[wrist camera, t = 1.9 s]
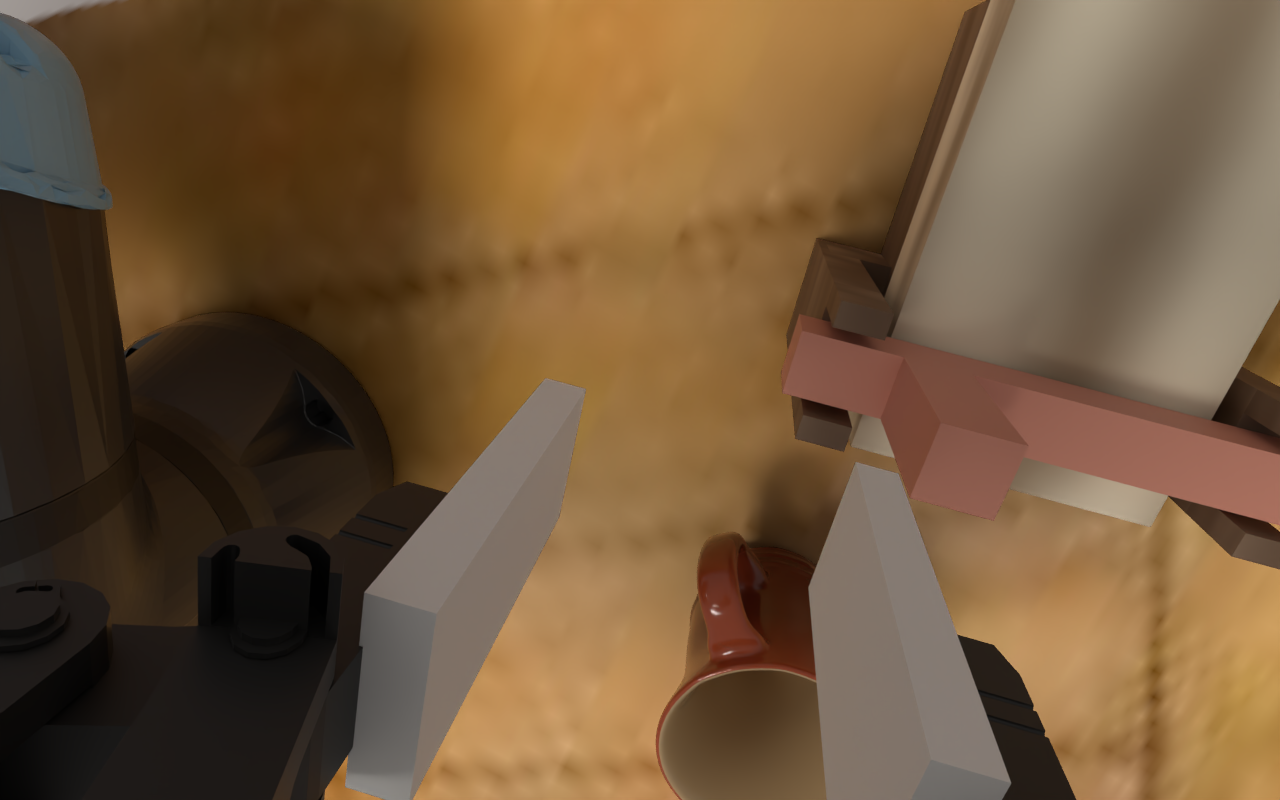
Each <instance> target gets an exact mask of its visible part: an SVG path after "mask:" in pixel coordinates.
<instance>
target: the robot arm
mask: <svg viewBox="0 0 1280 800" xmlns="http://www.w3.org/2000/svg"><path fill="white" fill-rule="evenodd" d="M112 207H113V203H112V195H111V192H110V191H109V190H108V188H107V187H105V186H104V185H103V184H102V181H101V176H100V171H99V166H98V161H97V156H96V151H95V146H94V141H93V136H92V131H91V126H90V121H89V116H88V111H87V106H86V101H85V96H84V91H83V88H82V85H81V82H80V79H79V77H78V75H77V73H76V71H75V69H74V67H73V65H72V64H71V63H70V61H69V60H68V58H67V57H66V56H65V54H64V53H63V52H62V51H61V50H60V49H59V48H58V47H57V46H56V45H55V44H54V43H53V42H52V41H51V40H50V39H48V38H47V37H46V36H44V35H43V34H42V33H40V32H39V31H38V30H36V29H35V28H33V27H31V26H30V25H28V24H26V23H25V22H23V21H21V20H19V19H16V18H14V17H11V16H9V15H5V14H2V13H0V800H324V795H325V789H326V787H327V786H328V784H329V783H330V781H331V780H332V778H333V777H334V775H335V774H336V772H337V771H338V769H339V768H340V766H341V765H342V763H343V761H344V760H345V758H346V757H347V755H348V764H347V774H346V784H345V787H347V788H350V789H353V790H356V791H360V792H363V793H366V794H369V795H372V796H376V797H379V798H382V799H385V800H412V799H413V798H414V796H415V794H416V792H417V790H418V788H419V786H420V784H421V782H422V780H423V778H424V776H425V774H426V773H427V771H428V769H429V767H430V765H431V763H432V761H433V759H434V757H435V755H436V753H437V751H438V749H439V747H440V746H441V744H442V742H443V740H444V738H445V736H446V734H447V732H448V730H449V728H450V726H451V724H452V722H453V721H454V719H455V717H456V715H457V713H458V711H459V709H460V707H461V705H462V703H463V701H464V699H465V697H466V696H467V694H468V692H469V690H470V688H471V686H472V684H473V682H474V680H475V678H476V676H477V674H478V672H479V671H480V669H481V667H482V665H483V663H484V661H485V659H486V657H487V655H488V653H489V651H490V649H491V647H492V645H493V644H494V642H495V640H496V638H497V636H498V634H499V632H500V630H501V628H502V626H503V624H504V622H505V620H506V619H507V617H508V615H509V613H510V611H511V609H512V607H513V605H514V603H515V601H516V599H517V597H518V595H519V594H520V592H521V590H522V588H523V586H524V584H525V582H526V580H527V578H528V576H529V574H530V572H531V570H532V569H533V567H534V565H535V563H536V561H537V559H538V557H539V555H540V553H541V551H542V549H543V547H544V545H545V543H546V542H547V540H548V538H549V536H550V534H551V532H552V530H553V528H554V526H555V524H556V522H557V520H558V518H559V516H560V511H561V506H562V501H563V497H564V492H565V487H566V482H567V477H568V473H569V468H570V463H571V458H572V454H573V449H574V444H575V439H576V435H577V430H578V425H579V420H580V416H581V411H582V406H583V401H584V397H585V392H586V389H584V388H580V387H577V386H573V385H569V384H566V383H562V382H558V381H554V380H551V379H547V378H545V379H544V381H543V382H542V383H541V384H540V385H539V387H538V388H537V389H536V390H535V391H534V392H533V394H532V395H531V396H530V397H529V398H528V400H527V401H526V402H525V403H524V404H523V405H522V407H521V408H520V409H519V410H518V411H517V413H516V414H515V415H514V416H513V417H512V418H511V420H510V421H509V422H508V423H507V424H506V426H505V427H504V428H503V429H502V430H501V431H500V433H499V434H498V435H497V436H496V437H495V439H494V440H493V441H492V442H491V443H490V444H489V446H488V447H487V448H486V449H485V450H484V452H483V453H482V454H481V455H480V456H479V457H478V459H477V460H476V461H475V462H474V463H473V465H472V466H471V467H470V468H469V469H468V470H467V472H466V473H465V474H464V475H463V476H462V478H461V479H460V480H459V481H458V482H457V483H456V485H455V486H454V487H453V488H452V489H451V491H450V492H449V493H446V492H442V491H439V490H435V489H432V488H428V487H425V486H421V485H418V484H414V483H411V482H404V483H402V484H400V485H397V486H395V487H393V464H392V457H391V451H390V446H389V442H388V439H387V436H386V433H385V430H384V427H383V425H382V422H381V420H380V418H379V416H378V413H377V411H376V409H375V408H374V406H373V404H372V402H371V400H370V399H369V397H368V396H367V394H366V393H365V391H364V390H363V388H362V387H361V386H360V384H359V383H358V382H357V380H356V379H355V378H354V377H353V376H352V374H351V373H350V372H349V371H348V370H347V369H346V368H345V367H344V366H343V365H342V364H341V363H340V362H339V361H338V360H337V359H336V358H335V357H334V356H333V355H331V354H330V353H329V352H328V351H327V350H325V349H324V348H323V347H321V346H320V345H319V344H317V343H316V342H315V341H313V340H311V339H310V338H308V337H307V336H305V335H303V334H302V333H300V332H298V331H296V330H294V329H292V328H290V327H288V326H286V325H283V324H281V323H278V322H276V321H273V320H270V319H267V318H263V317H259V316H255V315H250V314H244V313H234V312H218V313H208V314H203V315H198V316H195V317H191V318H188V319H185V320H183V321H180V322H177V323H174V324H171V325H169V326H166V327H163V328H160V329H158V330H155V331H153V332H151V333H149V334H147V335H146V336H144V337H142V338H141V339H139V340H137V341H136V342H134V343H133V344H132V345H130V346H129V347H128V348H127V349H126V350H125V351H124V348H123V341H122V334H121V328H120V321H119V314H118V307H117V300H116V294H115V287H114V280H113V273H112V266H111V258H110V251H109V243H108V235H107V227H106V219H105V211H104V210H108V209H111V208H112ZM808 589H809V600H810V612H811V623H812V635H813V647H814V658H815V670H816V681H817V693H818V705H819V716H820V728H821V739H822V751H823V763H824V774H825V786H826V798H827V800H1076V798H1075V796H1074V794H1073V791H1072V789H1071V787H1070V785H1069V782H1068V780H1067V778H1066V776H1065V774H1064V771H1063V769H1062V767H1061V765H1060V763H1059V760H1058V758H1057V756H1056V754H1055V751H1054V749H1053V747H1052V745H1051V743H1050V740H1049V738H1047V737H1045V729H1044V727H1043V725H1042V723H1041V720H1040V718H1039V716H1038V714H1037V712H1036V711H1033V706H1034V705H1033V703H1032V700H1031V698H1030V696H1029V694H1028V692H1027V689H1026V687H1025V685H1024V683H1023V680H1022V678H1021V676H1020V674H1019V673H1018V672H1017V671H1016V670H1015V669H1014V668H1013V667H1012V665H1011V664H1010V663H1009V662H1008V661H1007V660H1006V659H1005V657H1004V656H1003V655H1002V654H1001V653H1000V652H999V651H998V650H997V648H996V647H995V646H994V645H992V644H988V643H985V642H981V641H978V640H974V639H970V638H967V637H963V636H960V635H957V633H956V630H955V627H954V625H953V622H952V619H951V616H950V614H949V611H948V608H947V605H946V603H945V600H944V597H943V594H942V592H941V589H940V586H939V584H938V581H937V578H936V575H935V573H934V570H933V567H932V564H931V562H930V559H929V556H928V553H927V551H926V548H925V545H924V542H923V540H922V537H921V534H920V531H919V529H918V526H917V523H916V520H915V518H914V515H913V512H912V510H911V507H910V504H909V501H908V499H907V496H906V493H905V490H904V488H903V485H902V482H901V479H900V477H899V474H898V473H895V472H891V471H887V470H884V469H880V468H876V467H873V466H869V465H865V464H861V463H858V462H855V465H854V468H853V470H852V473H851V476H850V478H849V481H848V484H847V486H846V489H845V492H844V494H843V497H842V500H841V502H840V505H839V508H838V510H837V513H836V516H835V518H834V521H833V524H832V526H831V529H830V531H829V534H828V537H827V539H826V542H825V545H824V547H823V550H822V553H821V555H820V558H819V561H818V563H817V566H816V569H815V571H814V574H813V577H812V579H811V582H810V585H809V587H808Z"/></svg>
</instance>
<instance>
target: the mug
mask: <svg viewBox="0 0 1280 800" xmlns="http://www.w3.org/2000/svg"><path fill="white" fill-rule="evenodd" d="M815 569H816V565H815V564H813V563H812V562H811V561H809V560H808V559H806V558H804V557H802V556H800V555H798V554H796V553H793V552H791V551H787V550H784V549H781V548H775V547H759V548H751V549H750V548H749V546H748V545H747V543H746V542H745V540H744V539H743V537H742V536H741V535H740V534H738V533H736V532H726V533H721V534H717V535H714V536H712V537H710V538H709V539H708V540H707V541H706V542H705V543H704V545H703V547H702V549H701V552H700V556H699V560H698V567H697V588H698V594H697V597H696V600H695V602H694V604H693V607H692V611H691V616H690V631H689V637H688V645H687V657H686V669H685V675H684V678H683V680H682V682H681V684H680V685H679V687H678V689H677V690H676V692H675V693H674V695H673V696H672V697H671V699H670V700H669V702H668V704H667V705H666V707H665V709H664V711H663V713H662V715H661V718H660V721H659V724H658V727H657V733H656V753H657V758H658V763H659V766H660V769H661V772H662V774H663V776H664V778H665V780H666V781H667V783H668V785H669V786H670V788H671V789H672V791H673V792H674V793H675V794H676V796H677V797H678V798H679V799H680V800H827V798H826V786H825V774H824V763H823V751H822V739H821V728H820V716H819V705H818V693H817V681H816V670H815V658H814V647H813V635H812V623H811V612H810V600H809V589H808V587H809V585H810V582H811V579H812V577H813V574H814V571H815Z"/></svg>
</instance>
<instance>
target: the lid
mask: <svg viewBox="0 0 1280 800" xmlns="http://www.w3.org/2000/svg"><path fill="white" fill-rule="evenodd" d="M884 299H885V300H886V302H887V303H888V305H889V306H890V308H891V310H892V311H893V313H894V316H893V319H892V322H891V324H890V327H889V330H888V333H887V335H886V337H890V338H894V339H898V340H902V341H906V342H910V343H914V344H917V345H921V346H925V347H929V348H933V349H937V350H941V351H944V352H948V353H952V354H956V355H960V356H964V357H968V358H972V359H975V360H979V361H983V362H987V363H991V364H995V365H999V366H1003V367H1006V368H1010V369H1014V370H1018V371H1022V372H1026V373H1030V374H1033V375H1037V376H1041V377H1045V378H1049V379H1053V380H1057V381H1061V382H1064V383H1068V384H1072V385H1076V386H1080V387H1084V388H1088V389H1091V390H1095V391H1099V392H1103V393H1107V394H1111V395H1115V396H1119V397H1122V398H1126V399H1130V400H1134V401H1138V402H1142V403H1146V404H1150V405H1153V406H1157V407H1161V408H1165V409H1169V410H1173V411H1177V412H1180V413H1184V414H1188V415H1192V416H1196V417H1200V418H1204V419H1208V420H1211V419H1212V418H1213V416H1214V414H1215V412H1216V411H1217V409H1218V407H1219V405H1220V404H1221V402H1222V400H1223V398H1224V397H1225V395H1226V393H1227V391H1228V389H1229V388H1230V386H1231V384H1232V382H1233V381H1234V379H1235V377H1236V375H1237V374H1238V372H1239V370H1240V368H1241V367H1242V365H1243V363H1244V361H1245V359H1246V358H1247V356H1248V354H1249V352H1250V351H1251V349H1252V347H1253V345H1254V344H1255V342H1256V340H1257V338H1258V337H1259V335H1260V333H1261V331H1262V330H1263V328H1264V326H1265V324H1266V322H1267V321H1268V319H1269V317H1270V315H1271V314H1272V312H1273V310H1274V308H1275V307H1276V305H1277V303H1278V301H1279V300H1280V0H990V3H989V6H988V9H987V12H986V14H985V17H984V20H983V23H982V26H981V28H980V31H979V34H978V37H977V40H976V42H975V45H974V48H973V51H972V54H971V56H970V59H969V62H968V65H967V67H966V70H965V73H964V76H963V79H962V81H961V84H960V87H959V90H958V93H957V95H956V98H955V101H954V104H953V107H952V109H951V112H950V115H949V118H948V121H947V123H946V126H945V129H944V132H943V135H942V137H941V140H940V143H939V146H938V149H937V151H936V154H935V157H934V160H933V163H932V165H931V168H930V171H929V174H928V177H927V179H926V182H925V185H924V188H923V191H922V193H921V196H920V199H919V202H918V205H917V207H916V210H915V213H914V216H913V219H912V221H911V224H910V227H909V230H908V232H907V235H906V238H905V241H904V244H903V246H902V249H901V252H900V255H899V258H898V260H897V263H896V266H895V269H894V272H893V274H892V277H891V280H890V283H889V286H888V288H887V291H886V294H885V297H884ZM848 414H849V417H850V421H851V425H852V431H851V434H850V436H849V441H850V445H851V447H855V448H858V449H862V450H866V451H869V452H873V453H877V454H881V455H884V456H888V457H892V458H895V457H894V454H893V451H892V449H891V446H890V443H889V441H888V438H887V435H886V433H885V430H884V427H883V425H882V422H881V419H878V418H874V417H871V416H867V415H863V414H859V413H856V412H852V411H848ZM1009 489H1011V490H1014V491H1018V492H1022V493H1026V494H1029V495H1033V496H1037V497H1040V498H1044V499H1048V500H1052V501H1055V502H1059V503H1063V504H1066V505H1070V506H1074V507H1078V508H1081V509H1085V510H1089V511H1092V512H1096V513H1100V514H1104V515H1107V516H1111V517H1115V518H1118V519H1122V520H1126V521H1130V522H1133V523H1137V524H1141V525H1144V526H1148V527H1151V525H1152V523H1153V522H1154V520H1155V518H1156V516H1157V515H1158V513H1159V511H1160V509H1161V508H1162V506H1163V504H1164V502H1165V501H1166V499H1167V497H1168V495H1164V494H1160V493H1156V492H1153V491H1149V490H1145V489H1141V488H1138V487H1134V486H1130V485H1126V484H1123V483H1119V482H1115V481H1111V480H1108V479H1104V478H1100V477H1096V476H1093V475H1089V474H1085V473H1081V472H1078V471H1074V470H1070V469H1066V468H1062V467H1059V466H1055V465H1051V464H1047V463H1044V462H1040V461H1036V460H1032V459H1029V458H1025V457H1024V458H1023V460H1022V462H1021V464H1020V466H1019V468H1018V471H1017V473H1016V475H1015V477H1014V479H1013V481H1012V483H1011V485H1010V488H1009Z"/></svg>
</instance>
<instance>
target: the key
mask: <svg viewBox="0 0 1280 800" xmlns="http://www.w3.org/2000/svg"><path fill="white" fill-rule="evenodd" d="M781 378H782V393H784V394H788V395H792V396H796V397H799V398H803V399H807V400H811V401H814V402H818V403H822V404H826V405H829V406H833V407H837V408H841V409H844V410H848V411H852V412H856V413H859V414H863V415H867V416H871V417H874V418H878V419H881V422H882V425H883V427H884V430H885V433H886V435H887V438H888V441H889V443H890V446H891V449H892V451H893V454H894V457H895V460H896V462H897V465H898V468H899V470H900V473H901V476H902V478H903V481H904V484H905V486H906V489H907V492H908V495H909V497H910V498H912V499H915V500H919V501H923V502H926V503H930V504H934V505H937V506H941V507H945V508H948V509H952V510H956V511H959V512H963V513H967V514H970V515H974V516H978V517H982V518H985V519H989V520H993V521H994V519H995V517H996V515H997V513H998V511H999V509H1000V507H1001V505H1002V502H1003V500H1004V498H1005V496H1006V494H1007V492H1008V490H1009V488H1010V485H1011V483H1012V481H1013V479H1014V477H1015V475H1016V473H1017V471H1018V468H1019V466H1020V464H1021V462H1022V460H1023V458H1024V457H1025V458H1029V459H1032V460H1036V461H1040V462H1044V463H1047V464H1051V465H1055V466H1059V467H1062V468H1066V469H1070V470H1074V471H1078V472H1081V473H1085V474H1089V475H1093V476H1096V477H1100V478H1104V479H1108V480H1111V481H1115V482H1119V483H1123V484H1126V485H1130V486H1134V487H1138V488H1141V489H1145V490H1149V491H1153V492H1156V493H1160V494H1164V495H1168V496H1172V497H1175V498H1179V499H1183V500H1187V501H1190V502H1194V503H1198V504H1202V505H1205V506H1209V507H1213V508H1217V509H1220V510H1224V511H1228V512H1232V513H1235V514H1239V515H1243V516H1247V517H1250V518H1254V519H1258V520H1262V521H1266V522H1269V523H1273V524H1277V525H1280V438H1277V437H1273V436H1269V435H1266V434H1262V433H1258V432H1254V431H1250V430H1246V429H1242V428H1238V427H1235V426H1231V425H1227V424H1223V423H1219V422H1215V421H1211V420H1208V419H1204V418H1200V417H1196V416H1192V415H1188V414H1184V413H1180V412H1177V411H1173V410H1169V409H1165V408H1161V407H1157V406H1153V405H1150V404H1146V403H1142V402H1138V401H1134V400H1130V399H1126V398H1122V397H1119V396H1115V395H1111V394H1107V393H1103V392H1099V391H1095V390H1091V389H1088V388H1084V387H1080V386H1076V385H1072V384H1068V383H1064V382H1061V381H1057V380H1053V379H1049V378H1045V377H1041V376H1037V375H1033V374H1030V373H1026V372H1022V371H1018V370H1014V369H1010V368H1006V367H1003V366H999V365H995V364H991V363H987V362H983V361H979V360H975V359H972V358H968V357H964V356H960V355H956V354H952V353H948V352H944V351H941V350H937V349H933V348H929V347H925V346H921V345H917V344H914V343H910V342H906V341H902V340H898V339H894V338H890V337H886V338H885V341H884V340H880V339H876V338H873V337H869V336H865V335H861V334H857V333H853V332H849V331H846V330H842V329H838V328H834V327H832V324H831V322H828V321H825V320H821V319H817V318H813V317H809V316H805V315H801V314H799V317H798V320H797V323H796V327H795V330H794V333H793V336H792V339H791V342H790V346H789V349H788V352H787V355H786V358H785V361H784V365H783V368H782V371H781Z"/></svg>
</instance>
